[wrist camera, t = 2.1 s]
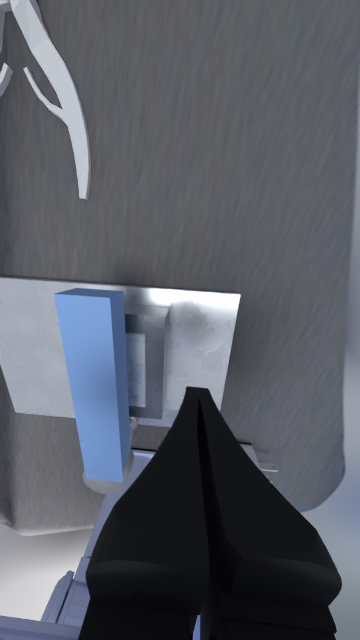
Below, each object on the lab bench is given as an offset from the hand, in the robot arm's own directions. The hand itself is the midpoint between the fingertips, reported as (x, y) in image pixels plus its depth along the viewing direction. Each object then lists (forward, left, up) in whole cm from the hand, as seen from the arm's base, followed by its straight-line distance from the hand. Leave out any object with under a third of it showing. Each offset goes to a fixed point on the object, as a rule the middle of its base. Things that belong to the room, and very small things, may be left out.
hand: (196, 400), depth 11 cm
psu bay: (-3, +9, -8) cm, 12 cm away
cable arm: (-3, +7, -2) cm, 7 cm away
